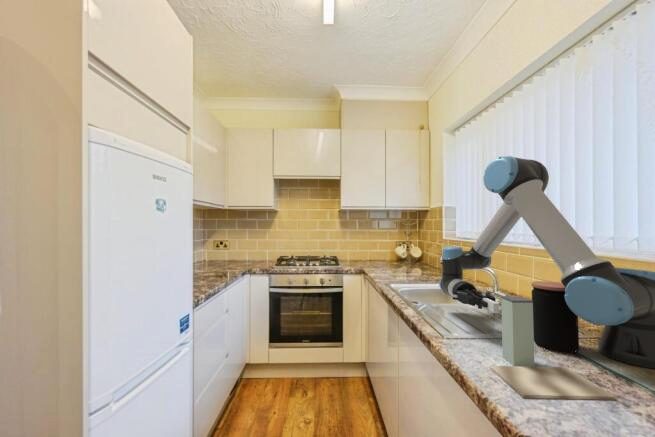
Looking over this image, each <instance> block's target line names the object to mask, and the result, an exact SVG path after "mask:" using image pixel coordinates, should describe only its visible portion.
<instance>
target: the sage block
mask: <svg viewBox="0 0 655 437" xmlns="http://www.w3.org/2000/svg"><path fill="white" fill-rule="evenodd" d="M500 299H501V301H500V303H501V337H502V338H501V341H502V342H501V344H502V359H504V360H505V361H506V362H508V363H509V364H510V365H512V366H528V367H535V342H534V329H533V301H532V299H530V298H526V297H525V296H516V295H515V296H514V295H512V296H511V295H510V296H507V295H506V296H503V295H501V296H500Z"/></svg>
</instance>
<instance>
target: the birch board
mask: <svg viewBox="0 0 655 437" xmlns="http://www.w3.org/2000/svg"><path fill="white" fill-rule="evenodd" d="M489 369H490V370H491V371H492V372H493V373H494V374H495V375H497V377H499V378H500V379H501V380H502V381H503V382H504V383H505V384H506V385H508V386H509V387H510V388H511V389H512V390H514V392H516V393H517V394H518V395H519V397H521V398H522V399H558V400H559V399H560V400H561V399H564V400H566V399H567V400H607V401H608V400H609V401H611V400H612V401H613V400H617V398H616V396H615V395H614V394H612V393H610V392H609V391H607V390H605V389H604V388H602V387H601V386H599V385H597V384H595V383H593V382H592V381H590V380H588V379H587V378H586V377H583V376H582V375H580V374H578V373H577V372H575V371H574V370H572V369H570V368H569V367H567V366H534V367H532V366H513V365H512V366H511V365H510V366H509V365H489Z"/></svg>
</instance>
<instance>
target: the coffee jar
mask: <svg viewBox="0 0 655 437" xmlns="http://www.w3.org/2000/svg"><path fill="white" fill-rule="evenodd" d="M531 286H532V288H533V289H532V290H531V300H532V301H533V329H534V344H535V345H536V344H537V345H538V346H537V345H536V346H537V347H539V346H540V348H541V347H542V348H541V349H544V348H545V349H544V350H546V349H548V350H547V351H550V350H551V351H550V352H554V351H555V352H556V353H560V352H561V353H562V354H575V353H576V352H577V351H578V350H579V349H580V337H579V332H580V331H579V317H578V316H577V315H575V314H574V313H573V312H572V311H571V309H570V308H569V307H568V305H567V303H566V301H565V296H564V295H565V286H564V285H563V284H562V282H561V281H560V282H559V281H546V280H544V281H543V280H542V281H541V280H540V281H538V280H537V281H532V282H531ZM575 351H576V352H575ZM561 353H560V354H561Z"/></svg>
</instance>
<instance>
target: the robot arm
mask: <svg viewBox="0 0 655 437" xmlns="http://www.w3.org/2000/svg"><path fill="white" fill-rule="evenodd" d="M549 176H550V175H549V172H548V169H547V167H546V166H545V165H544V164H543V163H541V162H540V161H539V160H535V159H526V158H521V157H515V156H511V155H508V156H506V155H504V156H503V155H502V156H498V157H495V158H494V159H493V160H491V161H490V162H489V163H488V165H487V166H486V168H485V170H484V175H483V179H482V180H483V181H482V182H483V186H484V187H485V189H486V190H487V191H489V192H492V193H493V194H498V195H499V196H500V198H501V199H502V201H503V203H502V204H501V206H500V207H499V209H498V210H497V212H495V214H494V216H493V217H492V218H491V220H490V221H489V223H488V224H487V226H486V227H485V228H484V230H483V231H482V233H481V234H480V235H479V237H478V238H477V240H476V241H475V242H474V244H473V246H471V248H470V250H463V248H462V247H461V246H444V247H443V248H442V251H441V262H442V263H441V266H442V267H441V268H442V270H441V272H442V274H441V278H440V279H439V281H438V285H439V288H440V290H441V291H442V292H443V293H444V294H446V295H448V296H450V297H452V300H455V301H458V302H460V303H461V304H465V305H470V306H472V307H473V306H474V307H475V306H477V309H478V310H482V309H486V310H488V311H490V312H491V313H494V314H499V312H500V310H499V309H500V306H499V305H500V303H499V302H497V301H496V298H495V297H494V295H492V294H491V292H489V291H486V292H482V291H480V290H479V291H478V290H477V287H475V285H474V284H472V283H470V282H468V281H466V280H464V278H463V273H464V272H463V271H464V270H465V271H466V270H482V269H486V268H489V267H490V266H491V264H492V255H493V254H494V252H495V251H496V250H497V248H498V247H499V246H500V245H501V243H502V242H503V241H504V239H505V238H506V237H507V236H508V235H509V233H510V232H511V231H512V229H513V228H514V227H515V225H516V224H517V223H518V221H519V220H520V219H522V220H523V222H525V223H526V225H527V227H528V228H529V229H530V230H531V232H532V233H533V234H534V236H535V238H536V239H537V240H538V241H539V243H540V244H541V246H542V247H543V249H544V250H545V251H546V252H547V254H548V255H549V256H550V258H551V259H552V260H553V262H554V263H555V264H556V266H557V267H558V269H559V270H560V272H561V273H562V274H561V277H560V283H562V284H563V285H564V286H565V295H564V296H565V301H566V303H567V305H568V307H569V308H570V309H571V311H572V312H573V313H574V314H575V315H577V316H578V319H581V320H583V321H585V322H586V323H590V324H593V325H598V326H604V327H603V329H602V331H601V335H600V338H599V339H598V341H597V349H598V352H599V353H601V354H602V355H604V356H606V357H608V358H610V357H611V359H613V358H614V359H613V360H615V359H617V360H616V361H618V360H619V361H618V362H622V361H623V362H622V363H625V364H629V365H634V366H636V367H637V366H638V367H641V368H649V369H655V271H652V270H642V269H631V268H624V267H615V266H614V265H613V263H612V262H611V261H610V260H609V259H608V260H607V259H604V258H599V257H597V255H596V254H595V253H594V251H593V250H592V249H591V248H590V246H589V245H588V244H587V243H586V242H585V240H584V239H583V238H582V237H581V236H580V234H578V232H577V231H576V230H575V229H574V227H573V226H572V225H571V224H570V223H569V221H568V220H567V219H566V218H565V216H564V215H563V214H562V213H561V212H560V210H558V208H557V207H556V205H555V204H554V203H553V202H552V201H551V200H550V198H549V197H548V196H547V194H546V193H545V191H546V189H547V187H548V184H549V180H550V179H549Z"/></svg>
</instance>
